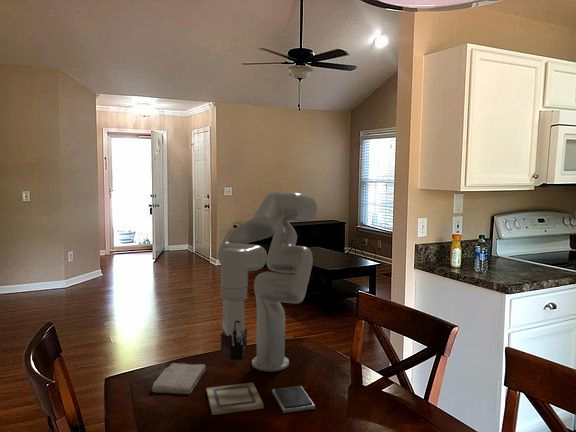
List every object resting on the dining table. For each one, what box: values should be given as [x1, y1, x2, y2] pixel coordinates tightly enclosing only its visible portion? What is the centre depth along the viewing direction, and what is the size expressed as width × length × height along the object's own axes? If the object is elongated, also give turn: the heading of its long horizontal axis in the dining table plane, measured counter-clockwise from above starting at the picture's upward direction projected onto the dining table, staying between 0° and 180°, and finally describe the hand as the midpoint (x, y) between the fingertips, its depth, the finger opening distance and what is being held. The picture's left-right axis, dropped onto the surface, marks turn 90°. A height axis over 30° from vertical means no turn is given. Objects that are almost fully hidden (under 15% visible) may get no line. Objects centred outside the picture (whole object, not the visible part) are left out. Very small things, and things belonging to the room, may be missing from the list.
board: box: [206, 382, 265, 416], centre depth 128 cm, size 14×14×1 cm
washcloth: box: [151, 362, 206, 395], centre depth 139 cm, size 12×18×3 cm, turn 176°
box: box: [220, 328, 248, 362], centre depth 127 cm, size 6×6×7 cm
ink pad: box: [271, 385, 316, 414], centre depth 128 cm, size 12×9×1 cm
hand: (233, 353), depth 127 cm, fingers closed on box, 8 cm apart
